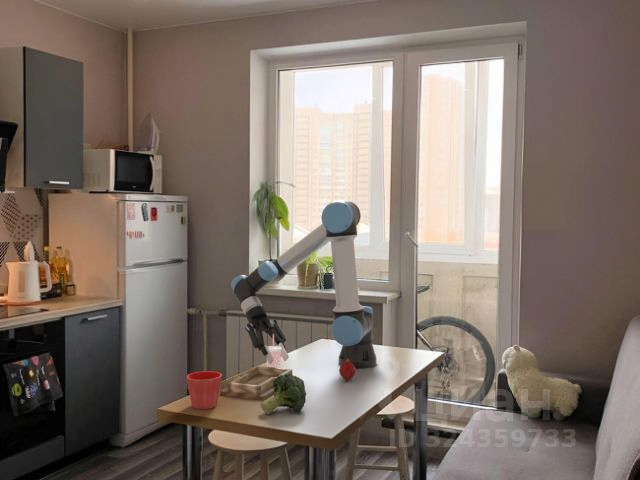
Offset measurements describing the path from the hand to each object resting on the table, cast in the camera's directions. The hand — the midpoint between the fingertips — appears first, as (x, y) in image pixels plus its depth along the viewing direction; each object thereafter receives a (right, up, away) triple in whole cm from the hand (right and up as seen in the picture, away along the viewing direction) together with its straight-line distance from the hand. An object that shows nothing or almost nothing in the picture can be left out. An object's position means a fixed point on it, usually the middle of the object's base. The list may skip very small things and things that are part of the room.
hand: (279, 360), depth 245 cm
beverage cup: (-2, -5, +3) cm, 6 cm away
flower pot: (-21, -8, -37) cm, 43 cm away
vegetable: (+4, -8, -42) cm, 43 cm away
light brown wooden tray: (-6, -6, -16) cm, 18 cm away
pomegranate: (+25, -6, -7) cm, 26 cm away
